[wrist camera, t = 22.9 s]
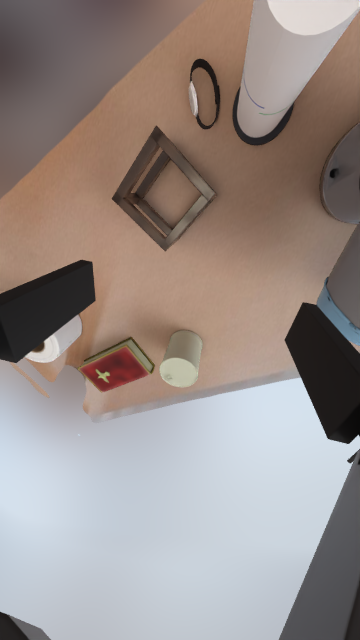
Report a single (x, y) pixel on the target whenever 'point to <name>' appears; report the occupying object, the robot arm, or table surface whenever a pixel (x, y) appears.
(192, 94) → the watch
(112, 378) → the hardcover book
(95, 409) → the table surface
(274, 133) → the coaster
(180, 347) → the can
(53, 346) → the white paper roll
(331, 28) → the cylindrical container
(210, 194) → the rack
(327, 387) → the robot arm
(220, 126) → the table surface
